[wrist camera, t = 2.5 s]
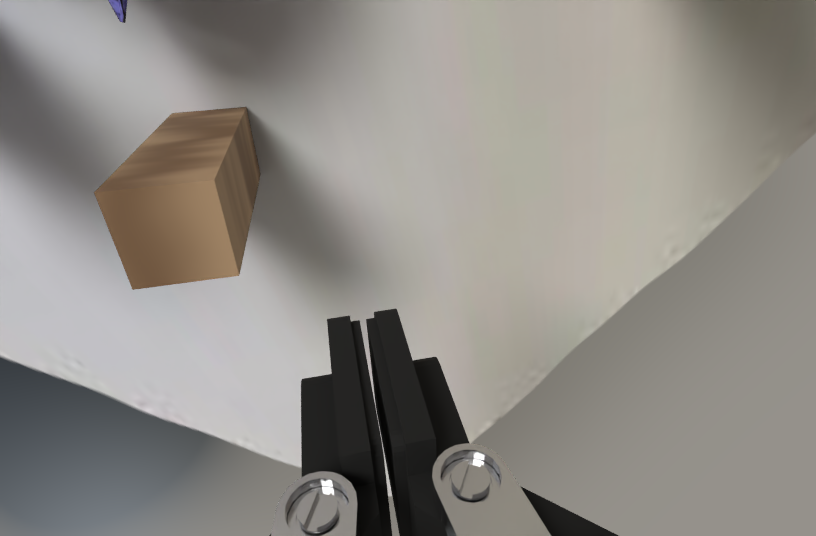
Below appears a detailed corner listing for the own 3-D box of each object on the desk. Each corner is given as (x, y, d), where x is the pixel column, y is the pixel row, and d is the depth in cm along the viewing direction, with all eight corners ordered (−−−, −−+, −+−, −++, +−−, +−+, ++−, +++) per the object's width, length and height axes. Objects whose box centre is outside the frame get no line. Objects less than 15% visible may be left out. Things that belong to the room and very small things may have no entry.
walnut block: (246, 107, 28) (214, 179, 17) (260, 174, 30) (239, 275, 20) (171, 113, 27) (94, 192, 17) (191, 182, 29) (132, 289, 19)
